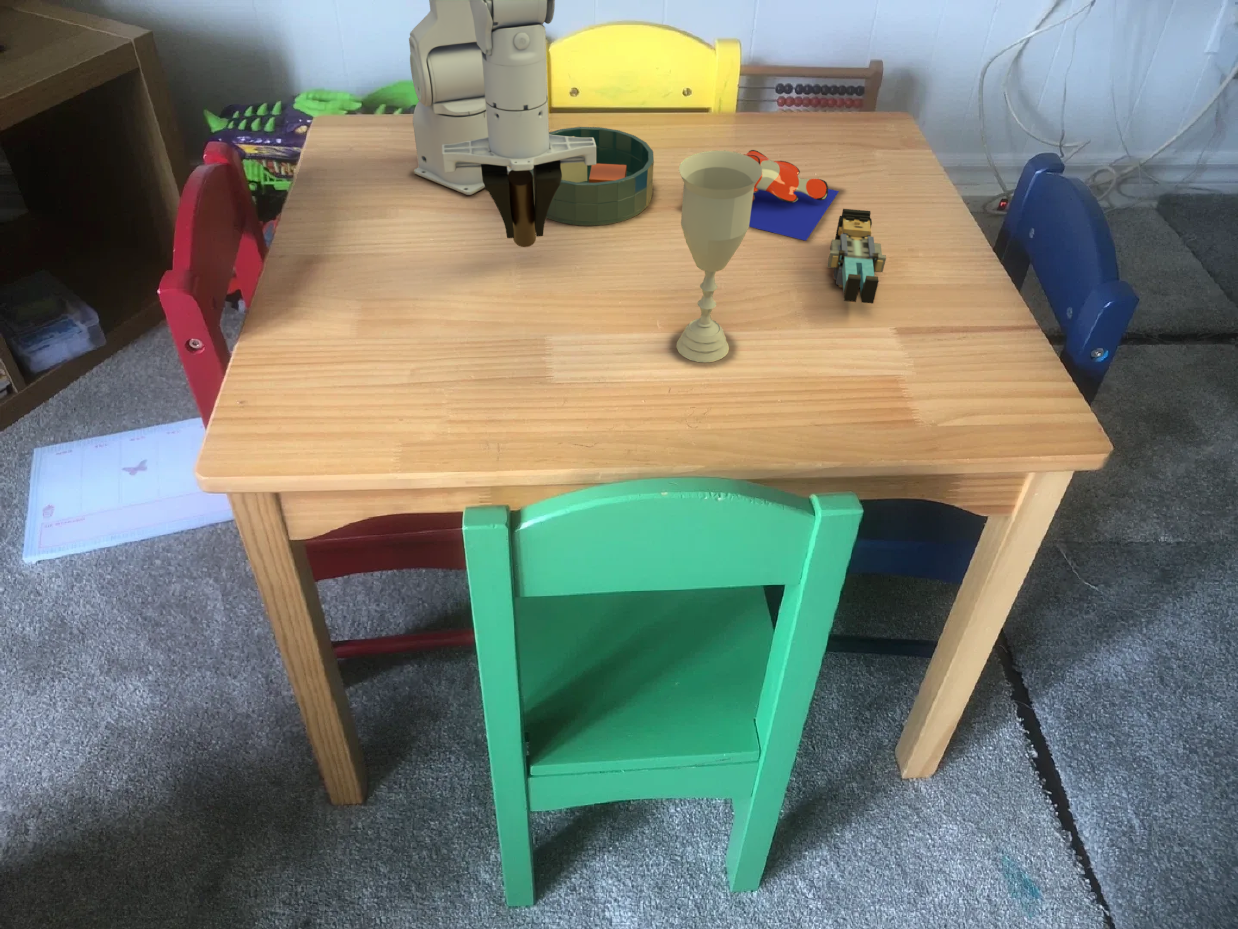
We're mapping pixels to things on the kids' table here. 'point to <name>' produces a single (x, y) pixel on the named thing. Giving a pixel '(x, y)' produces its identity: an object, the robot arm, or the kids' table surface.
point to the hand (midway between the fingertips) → (524, 232)
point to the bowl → (610, 197)
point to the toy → (856, 256)
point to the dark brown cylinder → (522, 207)
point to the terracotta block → (606, 172)
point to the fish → (787, 199)
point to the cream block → (574, 172)
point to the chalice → (714, 234)
